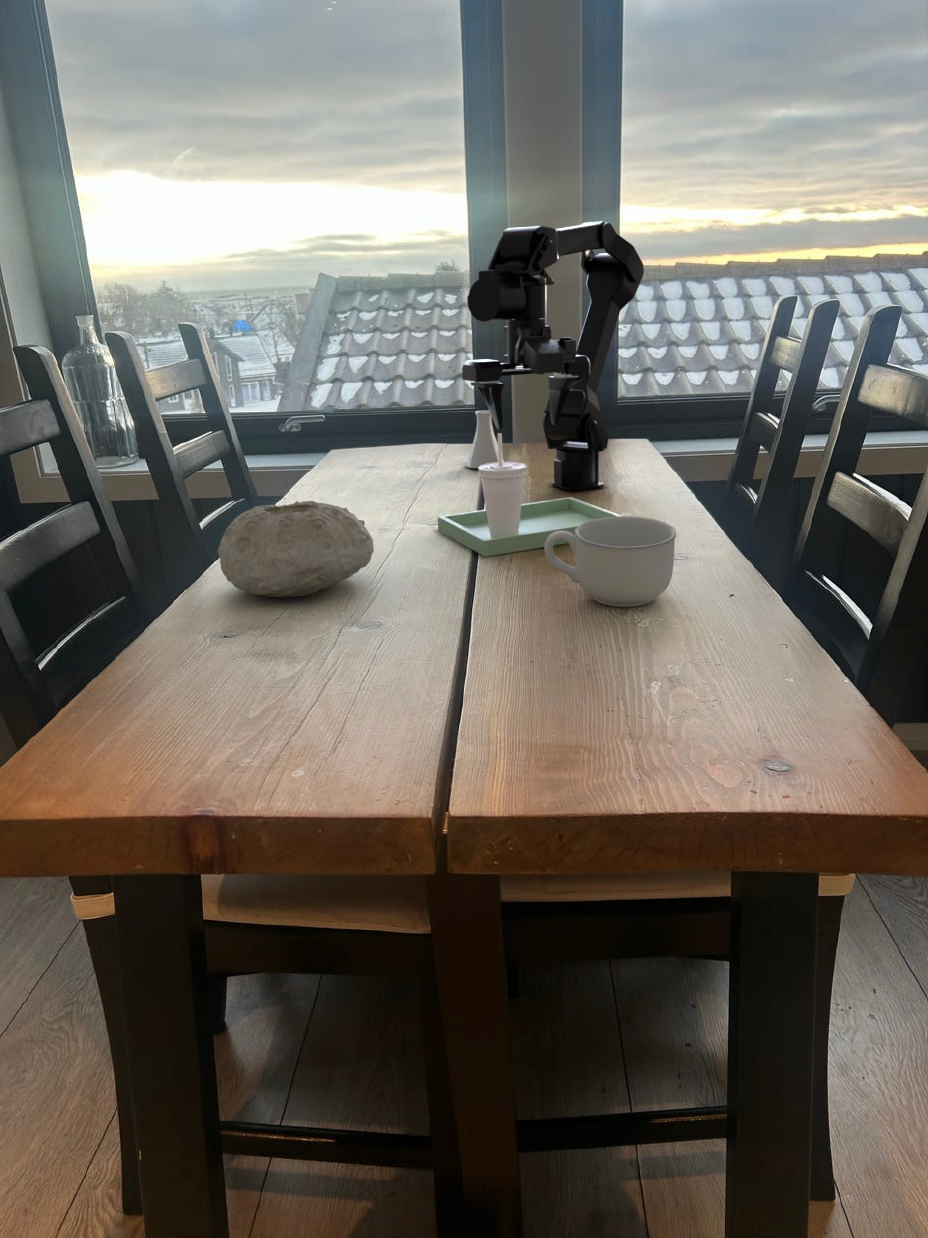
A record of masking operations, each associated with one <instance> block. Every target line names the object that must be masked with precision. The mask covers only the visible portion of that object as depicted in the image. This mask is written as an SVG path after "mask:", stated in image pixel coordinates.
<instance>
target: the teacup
mask: <svg viewBox="0 0 928 1238" xmlns="http://www.w3.org/2000/svg"><path fill="white" fill-rule="evenodd" d="M676 537H677V530H676V528H675V527H674V526H672V525H671V524H669V523H666V522H664V521H661V520H658V519H654V518H650V517H649V518H648V517H640V516H631V515H622V516H617V517H604V518H598V519H593V520H590V521H586V522H584V523H582V524H580V525H579V526H578V527H577V528H576V530H575V535H573V534H572V533H570V532H567V531H556V532H554V533H552V534H551V535H550V536H549V537H548V538H547V540H546V542H545V546H544V547H543V549H544V555H545V558H546V559H547V561H548V563H550V564H551V566H552V567H554V568H555V569H556V570H558V571H559V572H561V573H563V574H565V575H566V576H568V577H569V579H570V580H571V581H572V582H573V583H575V584H579V586H580V587H581V588H582V590H583V591H584V592H585V593H586V594H588V595H589V596H590V597H591V598H592V599H593V600H594V601H595V602H597V603H600V604H602V605H604V606H609V607H614V608H615V607H616V608H634V607H640V606H644V605H645V606H646V605H648V604H649V603H651V602H652V601H654V600H655V599H656V598H657V597H659V596H660V595H662V594H663V593H664V592H665V591H666V590H667V589H668V587H669V586H670V584H671V582H672V577H673V572H674V560H675V542H676ZM559 540H564V541H566V542H568V543H567V544H568V545H569V546H570V549H571V552H572V553H571V554H572V555H574V556H575V566H572V565H569V564H567V563H565V562H563V561H562V560H561V559H560V558H558V556H556V554H555V551H554V547H555V545H554V544H555V542H557V541H559Z"/></svg>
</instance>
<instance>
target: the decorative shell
mask: <svg viewBox="0 0 928 1238" xmlns="http://www.w3.org/2000/svg"><path fill="white" fill-rule="evenodd" d="M365 523H366V522H365V520H364V519H362V520H361V519H359V518H358V517H357V516H356V515H355V514H354V513H352V512H350V511H349V509H348V508H347V507H341V506H339V505H335V504H329V503H325V502H324V503H323V502H316V501H314V500H303V501H297V500H296V501H295V502H294V503H289V504H282V505H276V504H265V505H258V506H257V505H254V506H253V507H252V508H250V509H248V510H246V511H244V512H242V513H240V514H239V515H238V516H236V517H235V518H234V519H233V520H232V521H231V523H230V524H229V525H228V527H226V528H225V531H224V533H223V536H222V538H221V540H220V542H219V547H218V549H217V550H216V551H217V555H218V557H219V564H220V570H221V572H222V574H223V575H224V576H225V579H226V580H227V582H229V583H231V584H232V586H233V587H235V588H236V589H238V590H240V591H242V592H244V593H249V594H251V595H257V596H265V597H269V598H277V597H279V598H280V597H281V598H289V597H301V596H302V597H303V596H307V595H311V594H312V595H313V594H314V593H316V592H319V591H321V590H323V589H328V588H329V589H330V588H331V587H335V586H336V585H338V584H339V583H340V582H342V581H345V580H347V579H349V578H351V576H353V575H354V574H356V573H359V571H360V570H361V569H362V568H365V567H367V566H368V564H370V563H371V560H372V557H373V554H374V552H375V548H374V547H375V546H374V539H373V537H372V535H371V534H370V532H369V530H368V529H367V527H366V526H365Z"/></svg>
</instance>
